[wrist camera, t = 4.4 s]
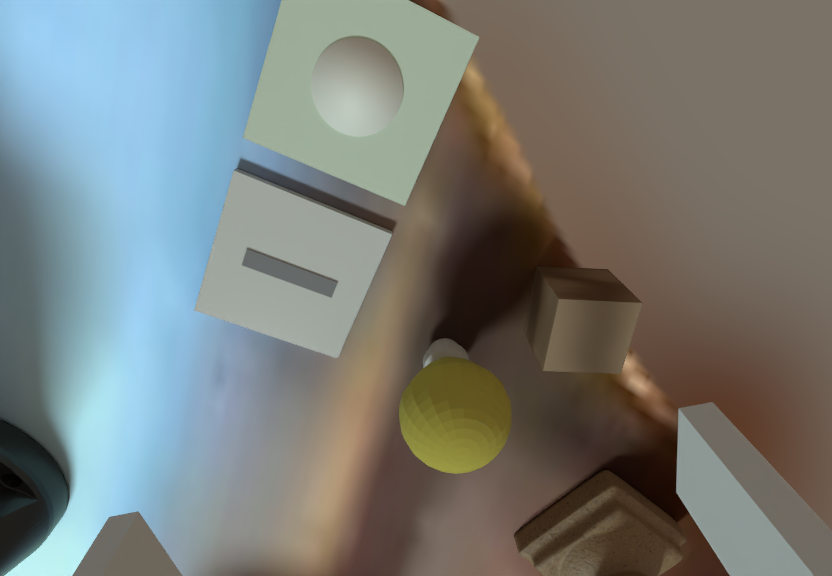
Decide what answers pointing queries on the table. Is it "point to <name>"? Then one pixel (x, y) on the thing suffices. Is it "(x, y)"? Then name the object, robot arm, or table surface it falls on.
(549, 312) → the walnut block
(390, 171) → the pad
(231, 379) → the table surface
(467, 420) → the light bulb
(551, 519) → the candle holder
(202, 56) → the table surface
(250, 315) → the pad
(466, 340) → the table surface
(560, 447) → the table surface
